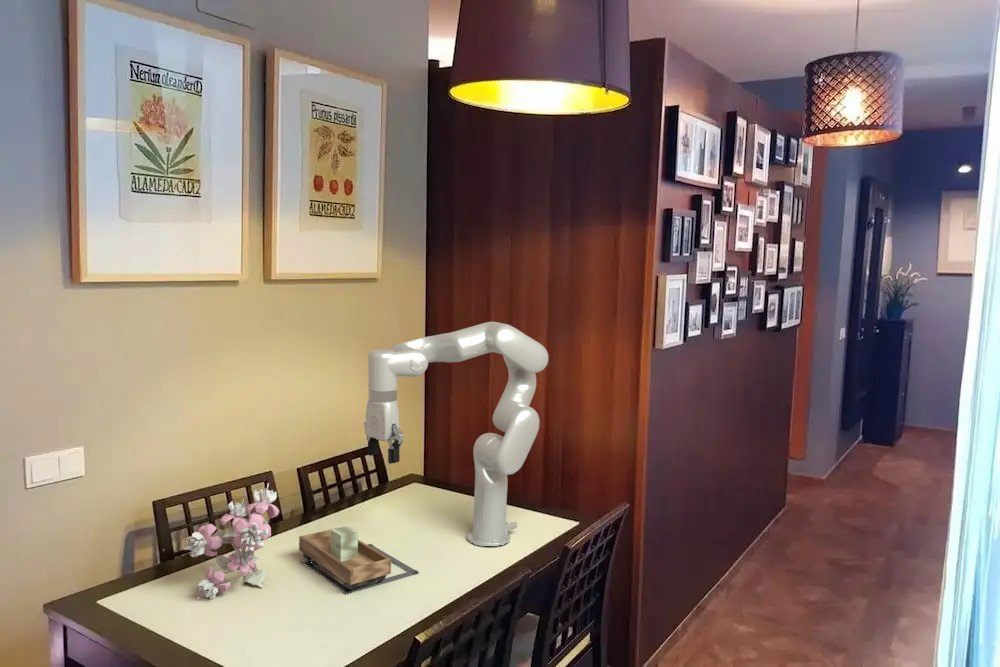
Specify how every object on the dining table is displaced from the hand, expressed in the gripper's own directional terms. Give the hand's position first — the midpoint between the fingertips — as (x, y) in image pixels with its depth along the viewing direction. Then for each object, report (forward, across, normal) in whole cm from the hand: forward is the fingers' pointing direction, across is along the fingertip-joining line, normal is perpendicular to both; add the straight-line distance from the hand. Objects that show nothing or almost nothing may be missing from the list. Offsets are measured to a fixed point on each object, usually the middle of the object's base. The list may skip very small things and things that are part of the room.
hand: (383, 458), depth 207 cm
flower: (+26, -5, -41) cm, 49 cm away
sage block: (+23, +2, -14) cm, 27 cm away
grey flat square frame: (+27, +2, -9) cm, 29 cm away
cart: (+27, +2, -14) cm, 31 cm away
